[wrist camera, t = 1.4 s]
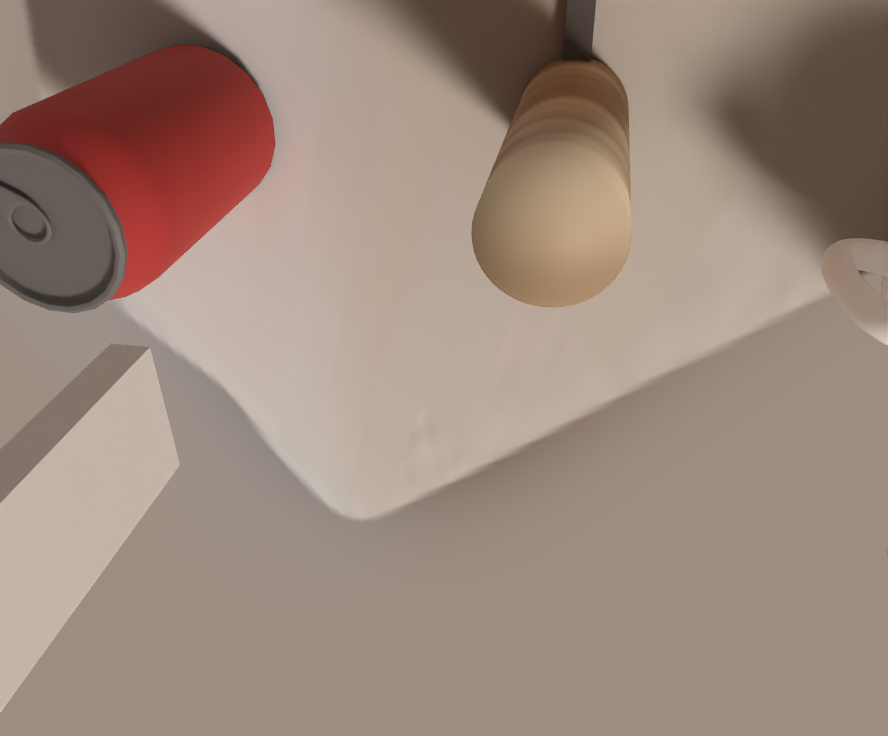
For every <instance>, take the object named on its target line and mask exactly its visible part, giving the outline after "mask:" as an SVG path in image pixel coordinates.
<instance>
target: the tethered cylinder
mask: <svg viewBox="0 0 888 736" xmlns="http://www.w3.org/2000/svg"><path fill="white" fill-rule="evenodd" d="M595 5H596V0H567V10H566V25H565V40H564V55H563V58H561V59H558V60H555V61H553V62H551V63H549V64H547V65H546V66H544V67H543V68H541V69H540V70H539V71H538V72H537V73H536V74H535V75H534V76H533V77H532V79H531V80H530V81H529V83H528V84H527V86H526V88H525V90H524V92H523V95H522V97H521V100H520V102H519V105H518V107H517V110H516V112H515V115H514V117H513V119H512V122H511V124H510V127H509V129H508V132H507V134H506V137H505V139H504V141H503V144H502V146H501V149H500V151H499V154H498V156H497V159H496V161H495V163H494V166H493V168H492V171H491V173H490V176H489V178H488V181H487V183H486V186H485V188H484V190H483V193H482V195H481V198H480V200H479V203H478V205H477V208H476V211H475V213H474V218H473V222H472V244H473V248H474V252H475V255H476V258H477V261H478V263H479V265H480V267H481V269H482V270H483V272H484V273H485V274H486V276H487V277H488V278H489V279H490V281H491V282H492V283H493V284H494V285H495V286H497V287H498V288H499V289H500V290H501V291H503V292H504V293H506V294H507V295H509V296H511V297H512V298H514V299H516V300H519V301H521V302H524V303H527V304H531V305H535V306H541V307H563V306H569V305H574V304H577V303H580V302H583V301H585V300H587V299H590V298H592V297H594V296H595V295H597V294H598V293H600V292H601V291H603V290H604V289H605V288H606V287H607V286H609V285H610V283H611V282H612V281H613V280H614V279H615V278H616V277H617V275H618V274H619V272H620V271H621V269H622V267H623V265H624V264H625V262H626V259H627V256H628V253H629V249H630V244H631V198H630V154H629V110H628V99H627V95H626V92H625V89H624V86H623V84H622V83H621V81H620V79H619V78H618V77H617V75H616V74H615V73H614V72H613V71H612V70H611V69H610V68H608V67H607V66H606V65H604V64H603V63H601V62H599V61H597V60H594V59H591V51H592V40H593V28H594V16H595Z"/></svg>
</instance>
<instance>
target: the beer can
mask: <svg viewBox="0 0 888 736" xmlns="http://www.w3.org/2000/svg"><path fill="white" fill-rule="evenodd" d="M274 149H275V136H274V126H273V118H272V116H271V113H270V111H269V108H268V106H267V103H266V101H265V98H264V96H263V94H262V93H261V91H260V90H259V89H258V87H257V86H256V84H255V83H254V82H253V80H252V79H251V78H250V76H249V75H248V74H247V73H246V72H245V71H244V70H242V69H241V68H240V67H239V66H237V65H236V64H235V63H234V62H232V61H231V60H230V59H229V58H227V57H226V56H224V55H222V54H219V53H217V52H214V51H212V50H210V49H207V48H205V47H202V46H195V45H179V44H176V45H173V46H170V47H167V48H164V49H161V50H158V51H155V52H152V53H150V54H148V55H145V56H143V57H141V58H139V59H136V60H134V61H132V62H129V63H127V64H125V65H122V66H120V67H118V68H115V69H113V70H111V71H108V72H106V73H104V74H102V75H99V76H97V77H95V78H92V79H90V80H88V81H85V82H83V83H81V84H78V85H76V86H74V87H72V88H69V89H67V90H65V91H62V92H60V93H58V94H55V95H53V96H51V97H48V98H46V99H44V100H41V101H39V102H37V103H35V104H32V105H30V106H28V107H25V108H23V109H21V110H19V111H16V112H14V113H12V114H11V115H10V116H9V117H8V118H7V119H6V120H5V121H4V122H3V123H2V124H1V125H0V284H1V285H2V286H4V287H6V288H7V289H9V290H10V291H11V292H13V293H14V294H16V295H18V296H19V297H20V298H22V299H23V300H25V301H28V302H30V303H33V304H35V305H38V306H40V307H43V308H45V309H48V310H52V311H61V312H70V313H77V312H81V311H87V310H91V309H95V308H97V307H99V306H100V305H101V304H103V303H104V302H106V301H108V300H112V299H117V298H122V297H126V296H128V295H131V294H133V293H135V292H137V291H139V290H141V289H142V288H144V287H145V286H147V285H148V284H150V283H151V282H153V281H154V280H155V279H157V278H158V277H159V276H160V275H162V274H163V273H164V272H165V271H166V270H167V269H168V268H169V267H170V266H171V265H172V264H173V263H175V262H176V261H177V260H178V259H179V258H180V257H181V256H182V255H183V254H184V253H185V252H186V251H188V250H189V249H190V248H191V247H192V246H193V245H194V244H195V243H196V242H197V241H198V240H199V239H201V238H202V237H203V236H204V235H205V234H206V233H207V232H208V231H209V230H210V229H211V228H212V227H214V226H215V225H216V224H217V223H218V222H219V221H220V220H221V219H222V218H223V217H224V216H225V215H227V214H228V213H229V212H230V211H231V210H232V209H233V208H234V207H235V206H236V205H237V204H238V203H240V202H241V201H242V200H243V199H244V198H245V197H246V196H247V195H248V194H249V193H250V192H251V191H253V190H254V189H255V188H256V187H257V186H258V185H259V184H260V182H261V181H262V179H263V178H264V176H265V175H266V173H267V172H268V170H269V168H270V167H271V162H272V158H273V153H274Z"/></svg>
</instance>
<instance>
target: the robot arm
mask: <svg viewBox="0 0 888 736" xmlns="http://www.w3.org/2000/svg"><path fill="white" fill-rule="evenodd" d="M178 466H179V460H178V457H177V453H176V449H175V445H174V441H173V437H172V433H171V429H170V425H169V421H168V417H167V414H166V409H165V405H164V401H163V397H162V394H161V390H160V386H159V382H158V378H157V374H156V370H155V366H154V362H153V358H152V354H151V351H150V347H141V346H131V345H121V344H110V345H109V346H108V347H107V348H106V349H105V350H104V351H103V352H102V353H101V354H100V355H98V356H97V357H96V358H95V359H94V360H93V361H92V362H91V363H90V364H89V365H88V366H87V367H86V368H85V369H84V370H83V371H82V372H81V373H80V374H79V375H78V376H77V377H76V378H75V379H73V380H72V381H71V382H70V383H69V384H68V385H67V386H66V387H65V388H64V389H63V390H62V391H61V392H60V393H59V394H58V395H57V396H56V397H55V398H54V399H53V400H51V402H49V403H48V404H47V405H46V406H45V407H44V408H43V409H42V410H41V411H40V412H39V413H38V414H37V415H36V416H35V417H34V418H33V419H32V420H31V421H30V422H28V423H27V424H26V425H25V426H24V427H23V428H22V429H21V430H20V431H19V432H18V433H17V434H16V435H15V436H14V437H13V438H12V439H11V440H10V441H9V442H8V443H7V444H5V445H4V446H3V447H2V448H1V449H0V712H1V711H2V710H3V708H4V707H5V705H6V704H7V702H8V701H9V700H10V698H11V697H12V696H13V694H14V693H15V692H16V690H17V689H18V687H19V686H20V685H21V683H22V682H23V680H24V679H25V678H26V676H27V675H28V674H29V672H30V671H31V669H32V668H33V666H34V665H35V664H36V662H37V661H38V660H39V658H40V657H41V656H42V654H43V653H44V652H45V650H46V649H47V647H48V646H49V645H50V643H51V642H52V640H53V639H54V638H55V636H56V635H57V634H58V632H59V631H60V629H61V628H62V627H63V625H64V624H65V623H66V621H67V620H68V618H69V617H70V616H71V614H72V613H73V612H74V610H75V609H76V607H77V606H78V605H79V603H80V602H81V600H82V599H83V598H84V596H85V595H86V593H87V592H88V591H89V589H90V588H91V587H92V585H93V584H94V583H95V581H96V580H97V578H98V577H99V576H100V574H101V573H102V572H103V570H104V569H105V567H106V566H107V565H108V563H109V562H110V560H111V559H112V558H113V556H114V555H115V554H116V552H117V551H118V549H119V548H120V546H121V545H122V544H123V542H124V541H125V540H126V538H127V537H128V536H129V534H130V533H131V531H132V530H133V529H134V527H135V526H136V525H137V523H138V521H139V520H140V519H141V517H142V516H143V515H144V513H145V512H146V511H147V509H148V508H149V507H150V505H151V504H152V503H153V501H154V500H155V498H156V497H157V495H158V494H159V493H160V491H161V490H162V489H163V487H164V486H165V485H166V483H167V482H168V480H169V479H170V478H171V476H172V475H173V473H174V472H175V471H176V469H177V468H178ZM886 552H887V555H888V547H887V550H886Z"/></svg>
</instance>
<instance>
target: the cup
mask: <svg viewBox="0 0 888 736" xmlns="http://www.w3.org/2000/svg"><path fill="white" fill-rule="evenodd" d="M821 270H822V275H823V278H824V281H825V283H826V285H827V287H828V289H829V290H830V292H831V294H832V295H833V296H834V298H835V299H836V301H837V302H838V303H839V304H840V306H841V307H842V308H843V309H844V311H845V312H846V313H847V314H848V315H849V316H850V317H851V318H852V319H853V320H854V321H855V322H856V323H857V324H858V325H859V326H860V327H861V328H862V329H864V330H865V331H866V332H867V333H869V334H870V335H871V336H873V337H874V338H876V339H878V340H879V341H881V342H883V343H884V344H886V345H888V242H886V241H881V240H875V239H867V238H851V239H843V240H840V241H837V242H836V243H834V244H832V245H831V246H829V247H828V248H827V250H826V251H825V252H824V254H823V257H822V260H821ZM858 270H861V271H866V272H869V273H873V274H877V275H880V276H883V282H882V296H881V295H879V294H878V293H877V292H876V291H875V290H874V289H873V288H872V287H871V286H870V285H869V284H868V283H867V282H866V281H865V280H864V279H863V277H862V276H861V275H860V273H859V272H858Z"/></svg>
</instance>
